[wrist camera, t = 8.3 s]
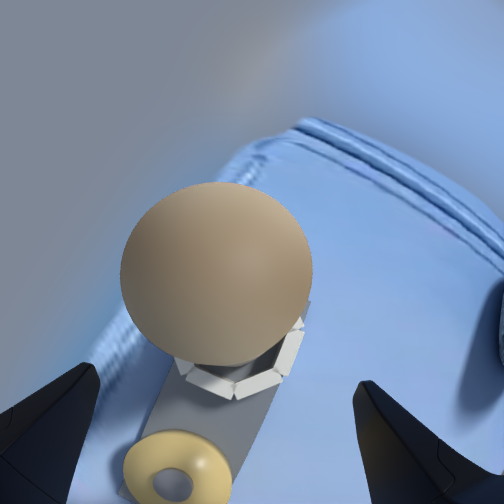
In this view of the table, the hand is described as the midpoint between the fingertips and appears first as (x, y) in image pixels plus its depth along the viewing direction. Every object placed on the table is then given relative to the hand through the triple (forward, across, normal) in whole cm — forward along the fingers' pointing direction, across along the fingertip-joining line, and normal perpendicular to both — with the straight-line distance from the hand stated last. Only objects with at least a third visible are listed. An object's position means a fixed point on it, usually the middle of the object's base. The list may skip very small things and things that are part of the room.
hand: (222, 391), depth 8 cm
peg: (+9, 0, +5) cm, 10 cm away
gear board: (+6, +2, +9) cm, 11 cm away
